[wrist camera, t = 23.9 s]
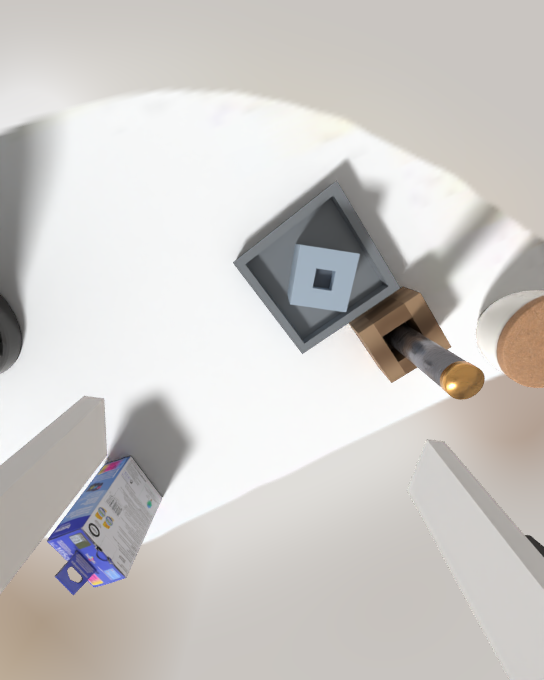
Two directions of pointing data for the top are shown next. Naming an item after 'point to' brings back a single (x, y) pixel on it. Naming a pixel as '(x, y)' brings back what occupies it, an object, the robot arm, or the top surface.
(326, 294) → the block
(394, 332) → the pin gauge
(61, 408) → the top surface
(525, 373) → the lidded jar
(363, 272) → the tray
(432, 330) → the go block
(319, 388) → the top surface
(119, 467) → the ink cartridge box
